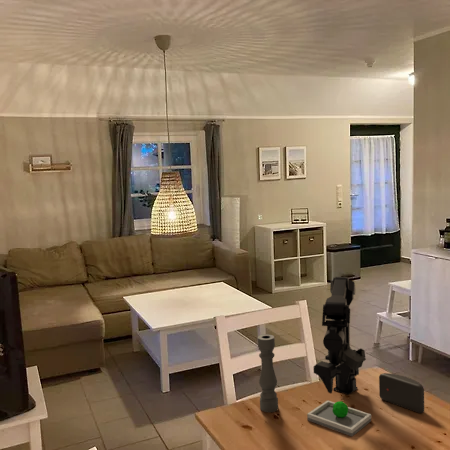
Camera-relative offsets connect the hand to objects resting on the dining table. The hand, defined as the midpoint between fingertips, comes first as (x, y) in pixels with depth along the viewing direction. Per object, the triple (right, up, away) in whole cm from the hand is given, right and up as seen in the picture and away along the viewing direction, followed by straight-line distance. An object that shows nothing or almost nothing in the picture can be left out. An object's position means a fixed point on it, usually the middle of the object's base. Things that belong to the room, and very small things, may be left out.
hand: (338, 388), depth 158 cm
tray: (+1, -11, +1) cm, 11 cm away
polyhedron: (+1, -10, +2) cm, 10 cm away
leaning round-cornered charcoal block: (+23, -9, +9) cm, 26 cm away
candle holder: (-21, -11, +12) cm, 26 cm away
